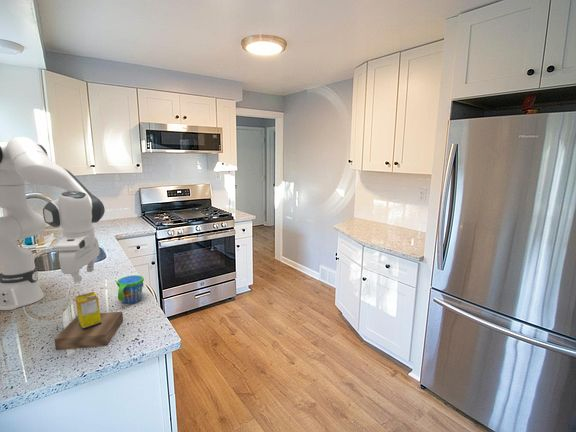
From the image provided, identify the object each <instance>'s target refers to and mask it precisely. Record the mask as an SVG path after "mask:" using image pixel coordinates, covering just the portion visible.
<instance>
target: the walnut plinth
mask: <svg viewBox="0 0 576 432" xmlns="http://www.w3.org/2000/svg"><path fill="white" fill-rule="evenodd" d="M100 316H101V324H99V325H96V326H93V327H90V328H88V329H85V330H83V329H82V328H81V326H80V324H79V319H78V314H77V315H76V316H75V317H74V318H73V319H72V320H71V321H70V322H69V323H68V324H67V325H66V326H65V327H64V329H63V330H61V332H59V334H58V335H57V336H56V337H55V338H54V346H55V350H57V351H58V350H68V349H80V348H89V347H90V348H91V347H101V346H108V345H109V343H110V342H111V341H112V339H113V337H114V336H115V334H116V333H117V331H118V330H119V329H120V326H121V325H122V324H123V322H124V316H123V311H113V312H100Z"/></svg>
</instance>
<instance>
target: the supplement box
mask: <svg viewBox="0 0 576 432" xmlns="http://www.w3.org/2000/svg"><path fill="white" fill-rule="evenodd" d="M74 298H75V303H76V305H75V306H76V311H77V315H78V319H79V324H80V326H81V328H82V329H83V330H85V329H88V328H90V327H93V326H96V325H99V324H101V316H100V313H101V309H100V304H99V297H98V295H97V294H96V293H95V292H94V291H91V292H88V293H85V294H81V295H76V296H75V297H74Z"/></svg>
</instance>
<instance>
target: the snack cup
mask: <svg viewBox="0 0 576 432" xmlns="http://www.w3.org/2000/svg"><path fill="white" fill-rule="evenodd" d="M116 285H117V287H118V291H117V292H118V293H117V299H118V301H119V302H123V303H125V304H133V303H134V304H135V303H137V302H140V301H141V299H142V295H143V294H142V293H143V287H144V277H143V276H141V275H139V274H137V275H136V274H135V275H134V274H133V275H127V276H124V277H121V278H118V279H117V281H116Z"/></svg>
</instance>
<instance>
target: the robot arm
mask: <svg viewBox="0 0 576 432" xmlns="http://www.w3.org/2000/svg"><path fill="white" fill-rule="evenodd" d="M25 181H26V182H27V183H31V184H34V185H39V186H49V187H56V188H60V189H63V190H65V191H64V192H62V193H60V194H59V195H58V198H57V199H55V200H51V201H48V202H47V203H46V204H45V205H44V207H43V208H42V214H43V215H41V214H40V213H38V212H36V211H35V210H34V209H32V207H31V206H30V205H29V202H28V200H27V194H26V186H25ZM0 208H1V209H5V211H6V213H7V215H5V216H0V268H1V269H0V270H1V273H0V311H11V310H15V309H18V308H20V307H24V306H28V305H31V304H33V303H36V302H38V301H41V300H42V299H43V298H44V297H45V293H44V292H43V290H42V288H41V286H40V283H39V275H38V270H37V267H36V264H35V260H34V253H33V252H32V250H30V249H29V248H26V247H23V246H20V245H19V244H18V240H23V239H27V238H32V237H34V236H36V235H37V236H38V235H39V234H42V233H43V232H44V231H45V229H46V226H47V224H48V225H49V226H50V227H52V228H62V236H61V239H60V240H59V241H58V243H57V244H56V246H55V248H56V251H57V252H59V253H58V261H59V267H60V271H61V273H62V274H64V275H70V276H71V277H72V279H73V283H74V284H77V283H78V284H79V283H81V281H82V275H80V270H81V269H83V268H84V267H85V266H86V272H87V273H92V272H94V271H95V268H94V265H95V262H96V261H95V259H96V258H97V257H98V256H99V255H100V252H101V251H100V245H99V241H98V238H97V237H95V230H94V229H95V227H94V226H93V224H97V223H98V222H99V221H101V219H102V218H103V217H104V215H105V211H106V210H105V206H104V203H103V202H102V201H101V199H99V197H97V196H95V195H94V194H92V193H91V192H90V191H89V190H88V189H87V188H86V186H85V185H84V184H82V182H81V181H80V180H79V179H78V178H77V177H76V176H75V175H74V174H73V173H72V172H71V171H70V170H68V169H66V168H64V167H62V166H60V165H58V164H57V163H55V162H54V161H53V160H52V159H51V158H50V157H49V156H48V152H47V150H46V148H45V147H44V146H43V145H41V144H39V143H37V142H36V141H35V140H34V139H32V138H29V137H26V136H17V137H14V138H13V137H12V139H10V140H9V141H0Z"/></svg>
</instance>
